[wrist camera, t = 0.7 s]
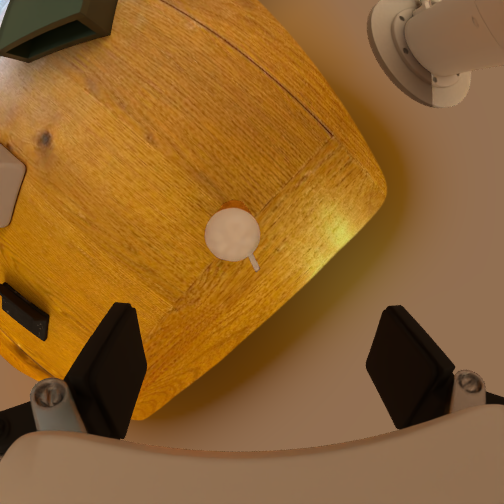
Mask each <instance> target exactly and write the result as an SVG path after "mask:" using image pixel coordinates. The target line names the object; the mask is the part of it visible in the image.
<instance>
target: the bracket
mask: <svg viewBox="0 0 504 504" xmlns="http://www.w3.org/2000/svg"><path fill="white" fill-rule="evenodd" d="M25 171H26V168H25V165H24V164H23V163H22V162H20V161H19V160H18V159H17V158H16V157H15V156H14V155H13V154H11V153H10V152H9V151H8V150H7V149H6V148H5V147H4V146H3V145H2V144H0V227H6V226H7V225H8V224H9V223H10V220H11V216H12V213H13V209H14V205H15V202H16V199H17V195H18V192H19V189H20V186H21V183H22V180H23V177H24V174H25Z"/></svg>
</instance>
